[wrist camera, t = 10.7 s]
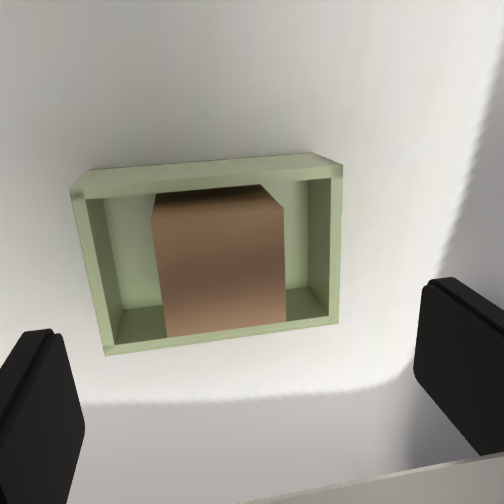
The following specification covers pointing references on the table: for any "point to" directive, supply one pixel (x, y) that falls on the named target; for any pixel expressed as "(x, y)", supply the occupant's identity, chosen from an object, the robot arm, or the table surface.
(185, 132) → the table surface
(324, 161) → the box
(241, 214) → the walnut block
